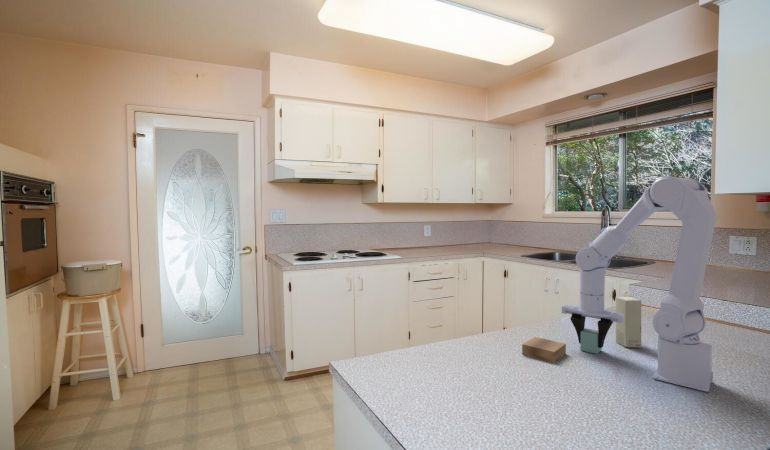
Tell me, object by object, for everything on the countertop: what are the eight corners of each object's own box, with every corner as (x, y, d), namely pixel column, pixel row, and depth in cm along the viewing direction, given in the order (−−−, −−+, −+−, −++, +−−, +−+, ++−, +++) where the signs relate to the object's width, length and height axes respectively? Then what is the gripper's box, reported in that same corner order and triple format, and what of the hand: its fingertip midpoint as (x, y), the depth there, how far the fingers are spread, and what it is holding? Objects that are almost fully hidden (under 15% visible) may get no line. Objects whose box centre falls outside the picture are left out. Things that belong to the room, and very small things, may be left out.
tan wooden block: (565, 355, 99) (565, 343, 99) (554, 364, 94) (554, 351, 94) (534, 347, 105) (535, 336, 105) (522, 355, 99) (522, 344, 99)
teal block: (601, 350, 102) (601, 331, 102) (597, 354, 99) (597, 334, 99) (585, 346, 105) (585, 328, 104) (580, 350, 102) (580, 331, 102)
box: (641, 348, 104) (643, 300, 103) (625, 348, 104) (626, 300, 103) (629, 341, 109) (630, 296, 109) (614, 341, 109) (615, 296, 109)
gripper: (627, 295, 99) (626, 347, 100) (568, 287, 109) (567, 335, 110) (620, 299, 94) (619, 354, 95) (559, 291, 104) (558, 341, 105)
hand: (591, 344), depth 102 cm, fingers closed on teal block, 4 cm apart
